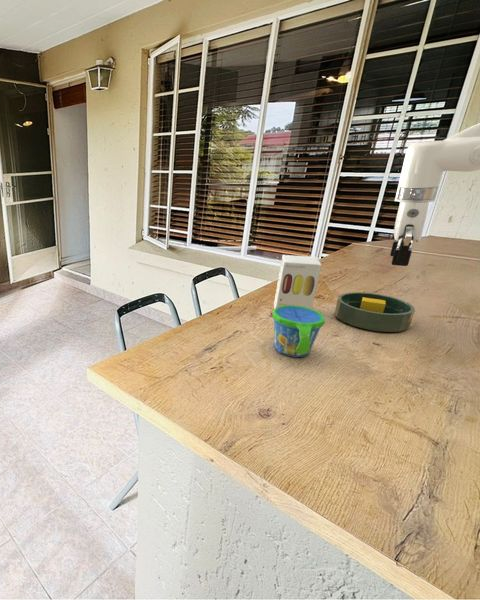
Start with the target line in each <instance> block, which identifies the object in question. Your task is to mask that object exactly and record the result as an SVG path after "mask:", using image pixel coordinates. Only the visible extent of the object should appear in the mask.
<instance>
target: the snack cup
mask: <svg viewBox="0 0 480 600" xmlns="http://www.w3.org/2000/svg"><path fill="white" fill-rule="evenodd" d="M272 318H273V346H274V348H275V350H277V352H278V353H279V354H283V355H284V356H287V357H290V358H302V357H306V356H308V355H309V354H310V353H311V350H312V349H313V346H314V343H315V342H316V339H317V336H318V335H319V332H320V329H321V328H322V327H323V326H324V325H325V323H326V321H325V320H326V319H325V316H324V314H322V312H320V311H318V310H315V309H313V308H312V309H310V308H306V307H301V306H280V307H277V308H275V309H274V308H273V310H272Z"/></svg>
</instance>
